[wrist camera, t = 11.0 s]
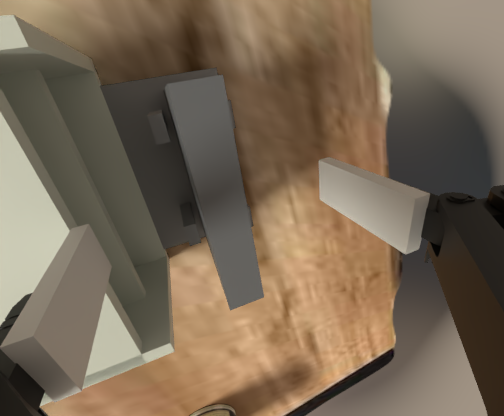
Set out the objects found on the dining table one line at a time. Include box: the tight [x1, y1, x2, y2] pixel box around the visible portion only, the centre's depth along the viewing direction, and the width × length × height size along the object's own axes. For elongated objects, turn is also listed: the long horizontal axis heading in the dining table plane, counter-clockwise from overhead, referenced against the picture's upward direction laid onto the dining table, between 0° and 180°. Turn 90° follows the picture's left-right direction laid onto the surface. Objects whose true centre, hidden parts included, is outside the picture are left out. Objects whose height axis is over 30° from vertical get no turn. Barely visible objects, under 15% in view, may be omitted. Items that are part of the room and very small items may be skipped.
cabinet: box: [0, 15, 253, 406], centre depth 19 cm, size 20×20×12 cm
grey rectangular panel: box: [163, 75, 264, 310], centre depth 19 cm, size 14×3×12 cm, turn 9°
